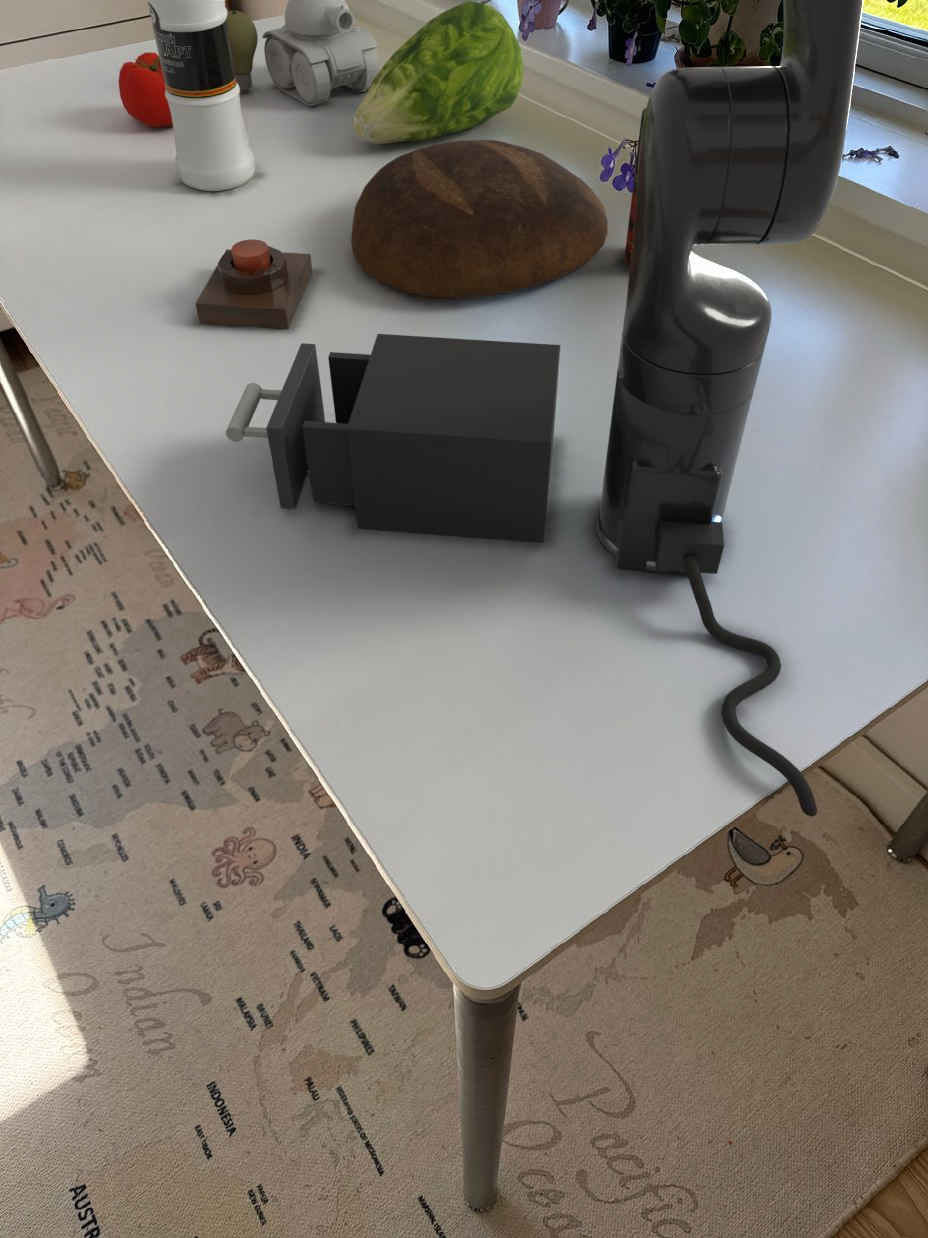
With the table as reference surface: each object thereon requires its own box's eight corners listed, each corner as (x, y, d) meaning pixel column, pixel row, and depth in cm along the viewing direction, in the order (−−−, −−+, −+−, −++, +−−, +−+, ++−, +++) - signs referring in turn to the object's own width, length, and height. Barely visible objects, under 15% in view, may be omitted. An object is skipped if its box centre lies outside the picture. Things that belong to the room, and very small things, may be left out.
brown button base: (288, 329, 98) (282, 291, 95) (199, 323, 99) (191, 286, 96) (313, 273, 106) (308, 236, 103) (229, 268, 107) (223, 232, 104)
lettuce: (345, 170, 133) (308, 66, 123) (481, 90, 139) (456, -15, 129) (403, 194, 124) (369, 83, 114) (546, 107, 129) (525, -5, 120)
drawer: (227, 504, 79) (208, 423, 74) (263, 418, 87) (248, 339, 81) (450, 522, 78) (449, 440, 72) (467, 432, 86) (467, 352, 80)
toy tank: (386, 96, 139) (380, -11, 129) (321, 115, 134) (310, 6, 125) (328, 65, 147) (318, -38, 137) (265, 82, 142) (250, -23, 133)
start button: (265, 274, 98) (262, 257, 97) (229, 272, 99) (226, 255, 97) (274, 256, 101) (272, 239, 100) (239, 254, 101) (236, 237, 100)
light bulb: (273, 91, 140) (262, 11, 133) (239, 102, 137) (227, 20, 130) (249, 81, 143) (238, 1, 135) (216, 91, 140) (202, 10, 133)
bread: (534, 169, 123) (537, 93, 116) (655, 270, 106) (667, 188, 99) (312, 216, 114) (303, 137, 108) (406, 334, 98) (402, 248, 91)
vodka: (264, 186, 120) (218, -120, 98) (186, 199, 118) (121, -112, 96) (248, 156, 126) (201, -140, 104) (173, 167, 124) (109, -133, 101)
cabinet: (357, 528, 79) (346, 428, 72) (384, 431, 87) (377, 333, 80) (543, 543, 78) (551, 442, 70) (553, 443, 86) (560, 344, 79)
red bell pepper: (147, 140, 129) (133, 77, 124) (116, 119, 134) (101, 57, 128) (212, 121, 133) (201, 60, 128) (179, 101, 138) (167, 41, 132)
